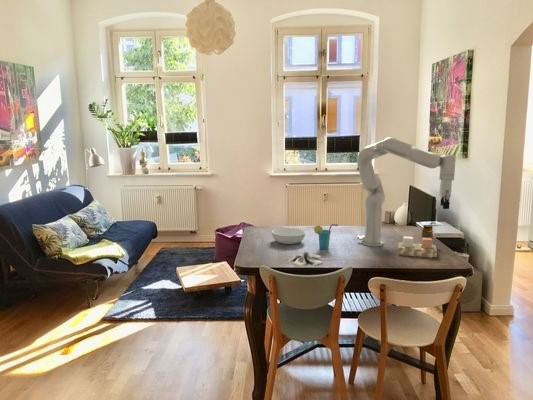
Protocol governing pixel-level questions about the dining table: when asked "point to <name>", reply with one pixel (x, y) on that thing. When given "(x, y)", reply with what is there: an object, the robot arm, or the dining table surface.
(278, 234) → the serving bowl
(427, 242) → the terracotta key
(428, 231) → the condiment
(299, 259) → the cloth
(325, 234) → the cup
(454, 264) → the dining table surface
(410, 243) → the ivory key
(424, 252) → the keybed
